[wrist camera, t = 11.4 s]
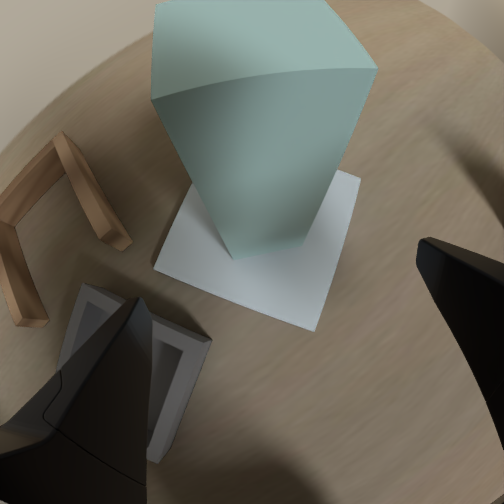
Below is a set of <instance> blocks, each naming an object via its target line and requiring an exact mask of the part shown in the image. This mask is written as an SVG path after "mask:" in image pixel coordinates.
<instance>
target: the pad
mask: <svg viewBox="0 0 504 504" xmlns="http://www.w3.org/2000/svg"><path fill="white" fill-rule="evenodd" d="M360 181H361V178H358V177H356V176H353V175H351V174H348V173H345V172H343V171H340V170H337V171H336V173H335V175H334V177H333V180H332V182H331V184H330V186H329V189H328V191H327V193H326V195H325V197H324V200H323V202H322V204H321V206H320V209H319V211H318V213H317V215H316V217H315V219H314V222H313V224H312V226H311V228H310V230H309V232H308V234H307V237H306V239H305V241H304V243H303V245H302V246H299V247H294V248H289V249H284V250H280V251H275V252H270V253H265V254H261V255H256V256H251V257H246V258H242V259H237V260H233V258H232V256H231V254H230V253H229V251H228V249H227V247H226V245H225V243H224V241H223V239H222V237H221V236H220V234H219V232H218V230H217V228H216V226H215V224H214V222H213V220H212V219H211V217H210V215H209V213H208V211H207V209H206V207H205V205H204V203H203V201H202V199H201V198H200V196H199V194H198V192H197V190H196V188H195V186H194V184H193V182H192V184H191V186H190V188H189V190H188V193H187V195H186V197H185V199H184V201H183V203H182V205H181V207H180V209H179V211H178V214H177V216H176V218H175V220H174V222H173V224H172V227H171V229H170V231H169V233H168V236H167V238H166V240H165V242H164V245H163V247H162V249H161V252H160V254H159V256H158V259H157V261H156V264H155V266H154V268H153V269H154V270H156V271H158V272H161V273H163V274H165V275H168V276H170V277H172V278H175V279H177V280H180V281H182V282H184V283H187V284H189V285H191V286H194V287H196V288H199V289H201V290H204V291H206V292H209V293H211V294H214V295H216V296H219V297H221V298H224V299H226V300H229V301H231V302H234V303H236V304H239V305H242V306H244V307H247V308H249V309H252V310H255V311H257V312H260V313H263V314H265V315H268V316H271V317H274V318H276V319H279V320H282V321H285V322H287V323H290V324H293V325H296V326H299V327H301V328H304V329H307V330H310V331H313V332H314V331H315V328H316V325H317V323H318V320H319V317H320V314H321V311H322V309H323V306H324V303H325V300H326V297H327V294H328V291H329V288H330V285H331V282H332V279H333V276H334V273H335V270H336V267H337V263H338V260H339V257H340V254H341V250H342V247H343V244H344V240H345V237H346V234H347V230H348V227H349V223H350V219H351V216H352V212H353V208H354V205H355V201H356V197H357V193H358V189H359V185H360Z"/></svg>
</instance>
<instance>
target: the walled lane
mask: <svg viewBox="0 0 504 504" xmlns="http://www.w3.org/2000/svg"><path fill="white" fill-rule="evenodd" d="M65 172H66V174H67V176H68V178H69V180H70V183H71V185H72V187H73V189H74V191H75V193H76V195H77V197H78V200H79V202H80V204H81V206H82V208H83V210H84V212H85V214H86V216H87V218H88V220H89V221H90V223H91V225H92V227H93V229H94V231H95V233H96V235H97V237H98V238H99V240H101V241H103V242H105V243H106V244H108V245H110V246H112V247H114V248H116V249H118V250H120V251H124V250H125V249H126V248H127V247H128V246H129V245H130V244H132V243H133V241H132V239H131V238H130V236H129V235H128V233H127V232H126V230H125V228H124V227H123V225H122V223H121V222H120V220H119V218H118V217H117V215H116V214H115V212H114V210H113V208H112V207H111V205H110V203H109V202H108V200H107V198H106V196H105V195H104V193H103V191H102V189H101V188H100V186H99V184H98V182H97V181H96V179H95V177H94V175H93V173H92V171H91V170H90V168H89V166H88V164H87V162H86V160H85V158H84V156H83V154H82V153H81V151H80V149H79V148H78V147H77V146H76V145H75V144H74V143H73V142H72V141H71V140H70V139H69V138H68V137H67V136H66V135H65V134H64V133H63V132H62V131H61V132H60V133H58V134H57V135H56V136H55V137H54V138H53V139H52V140H51V141H50V142H49V143H48V144H47V145H46V146H45V147H44V148H43V149H42V150H41V151H40V152H39V153H38V154H37V155H36V156H35V157H34V158H33V159H32V160H31V161H30V162H29V163H28V164H27V165H26V166H25V167H24V168H23V170H22V171H21V172H20V173H19V174H18V175H17V176H16V177H15V179H14V180H13V181H12V182H11V183H10V184H9V186H8V187H7V188H6V189H5V190H4V192H3V193H2V194H1V195H0V283H1V286H2V290H3V293H4V296H5V299H6V301H7V304H8V307H9V310H10V313H11V315H12V318H13V320H14V323H15V325H16V326H21V327H42V328H43V327H44V326H45V325H46V323H47V322H48V321H49V318H48V316H47V314H46V312H45V309H44V307H43V305H42V303H41V300H40V298H39V296H38V293H37V291H36V288H35V286H34V283H33V281H32V278H31V276H30V273H29V270H28V268H27V265H26V262H25V259H24V256H23V253H22V250H21V247H20V244H19V241H18V237H17V234H16V231H15V226H16V224H17V223H18V222H19V221H20V220H21V219H22V217H23V216H24V215H25V214H26V213H27V212H28V211H29V209H30V208H31V207H32V206H33V205H34V204H35V203H36V202H37V201H38V200H39V199H40V198H41V196H42V195H43V194H44V193H45V192H46V191H47V190H48V189H49V188H50V187H51V186H52V185H53V184H54V183H55V182H56V181H57V180H58V179H59V178H60V177H61V176H62V175H63V174H64V173H65Z"/></svg>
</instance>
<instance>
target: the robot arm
mask: <svg viewBox="0 0 504 504" xmlns="http://www.w3.org/2000/svg"><path fill="white" fill-rule="evenodd" d="M416 265H417V268H418V270H419V272H420V274H421V276H422V278H423V280H424V282H425V284H426V286H427V288H428V290H429V292H430V294H431V296H432V298H433V300H434V302H435V304H436V305H437V307H438V309H439V311H440V312H441V314H442V316H443V317H444V319H445V321H446V323H447V324H448V326H449V328H450V330H451V332H452V333H453V335H454V337H455V339H456V341H457V343H458V345H459V346H460V348H461V350H462V352H463V354H464V356H465V358H466V360H467V362H468V364H469V366H470V368H471V370H472V372H473V375H474V377H475V379H476V381H477V383H478V385H479V388H480V390H481V392H482V394H483V397H484V399H485V401H486V404H487V407H488V409H489V412H490V414H491V417H492V419H493V422H494V425H495V427H496V430H497V433H498V436H499V438H500V441H501V444H502V447H503V450H504V264H503V263H501V262H498V261H496V260H493V259H491V258H488V257H485V256H483V255H480V254H478V253H475V252H472V251H469V250H467V249H464V248H461V247H458V246H456V245H453V244H450V243H447V242H444V241H441V240H438V239H435V238H432V237H427V238H423V239H421V240H420V241H419V243H418V249H417V256H416ZM152 334H153V322H152V317H151V315H150V313H149V311H148V309H147V307H146V305H145V303H144V301H143V299H142V298H141V297H134V298H129V299H127V300H126V301H125V302H124V303H123V304H122V305H121V306H120V307H119V308H118V309H117V310H116V311H115V312H114V313H113V314H112V315H111V316H110V317H109V318H108V319H107V320H106V321H105V322H104V323H103V324H102V325H101V326H100V327H99V328H98V329H97V330H96V331H95V332H94V333H93V334H92V335H91V336H90V337H89V339H88V340H87V341H86V342H85V343H84V344H83V345H82V346H81V347H80V348H79V349H78V350H77V351H76V352H75V353H74V354H73V355H72V356H71V357H70V358H69V359H68V361H67V362H66V363H65V364H64V365H63V366H62V367H61V369H59V370H58V371H57V372H56V373H55V375H54V376H53V377H52V378H51V379H50V380H49V381H48V382H47V383H46V384H45V385H44V386H43V387H42V388H41V389H40V390H39V391H38V392H37V393H36V394H35V395H34V396H33V397H32V398H31V399H30V400H29V401H28V402H27V403H26V404H25V405H24V406H23V407H22V408H21V409H20V410H19V411H18V412H17V413H16V414H15V415H14V416H13V417H12V418H11V419H10V420H9V421H8V422H6V423H5V424H3V425H1V426H0V504H147V489H146V487H145V486H146V460H147V431H148V414H149V399H150V387H151V376H152V361H153V352H152ZM491 504H504V494H503V495H502V496H500V497H499V498H498V499H496V500H495V501H494V502H492V503H491Z"/></svg>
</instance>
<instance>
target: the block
mask: <svg viewBox="0 0 504 504" xmlns="http://www.w3.org/2000/svg"><path fill="white" fill-rule="evenodd" d="M377 71H378V67H377V66H376V64H375V63H374V61H373V60H372V58H371V57H370V56H369V54H368V53H367V52H366V50H365V49H364V47H363V46H362V45H361V43H360V42H359V41H358V40H357V38H356V37H355V36H354V34H353V33H352V32H351V31H350V29H349V28H348V27H347V26H346V25H345V23H344V22H343V21H342V20H341V19H340V17H339V16H338V15H337V14H336V13H335V12H334V11H333V9H332V8H331V7H330V6H329V5H328V4H327V3H326V2H325V1H324V0H171V1H167V2H164V3H160V4H156V9H155V19H154V31H153V47H152V69H151V101H152V103H153V105H154V107H155V109H156V111H157V113H158V115H159V117H160V119H161V121H162V123H163V125H164V127H165V129H166V131H167V133H168V135H169V137H170V139H171V141H172V143H173V145H174V147H175V149H176V151H177V153H178V155H179V157H180V159H181V161H182V163H183V165H184V167H185V169H186V170H187V172H188V174H189V176H190V178H191V180H192V182H193V184H194V186H195V188H196V190H197V192H198V194H199V196H200V198H201V199H202V201H203V203H204V205H205V207H206V209H207V211H208V213H209V215H210V217H211V219H212V220H213V222H214V224H215V226H216V228H217V230H218V232H219V234H220V236H221V237H222V239H223V241H224V243H225V245H226V247H227V249H228V251H229V253H230V254H231V256H232V258H233V260H237V259H242V258H246V257H251V256H256V255H261V254H265V253H270V252H275V251H280V250H284V249H289V248H294V247H299V246H302V245H303V243H304V241H305V239H306V237H307V234H308V232H309V230H310V228H311V226H312V224H313V222H314V219H315V217H316V215H317V213H318V211H319V209H320V206H321V204H322V202H323V200H324V197H325V195H326V193H327V191H328V189H329V186H330V184H331V182H332V180H333V177H334V175H335V173H336V171H337V168H338V166H339V164H340V161H341V159H342V157H343V154H344V152H345V150H346V147H347V145H348V143H349V140H350V138H351V136H352V133H353V131H354V128H355V126H356V124H357V121H358V119H359V116H360V114H361V111H362V109H363V106H364V104H365V101H366V99H367V96H368V94H369V91H370V89H371V86H372V84H373V81H374V79H375V76H376V73H377Z"/></svg>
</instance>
